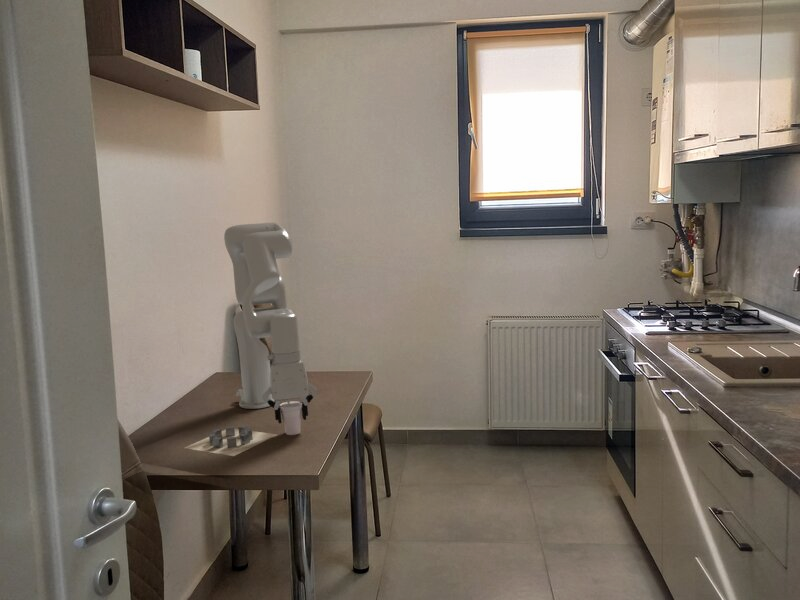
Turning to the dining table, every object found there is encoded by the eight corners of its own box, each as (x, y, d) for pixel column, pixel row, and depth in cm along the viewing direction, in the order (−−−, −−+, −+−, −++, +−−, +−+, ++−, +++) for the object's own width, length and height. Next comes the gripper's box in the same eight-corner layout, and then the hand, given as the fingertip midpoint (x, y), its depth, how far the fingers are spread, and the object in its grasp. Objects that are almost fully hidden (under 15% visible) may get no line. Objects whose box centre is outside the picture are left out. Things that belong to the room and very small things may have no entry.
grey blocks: (201, 445, 203) (200, 436, 203) (230, 432, 213) (229, 424, 212) (232, 450, 197) (231, 441, 197) (261, 436, 207) (260, 428, 207)
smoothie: (282, 434, 212) (278, 387, 210) (305, 433, 213) (301, 385, 211) (281, 442, 206) (276, 393, 204) (304, 440, 207) (300, 391, 205)
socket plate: (183, 453, 202) (183, 448, 202) (229, 432, 217) (229, 427, 217) (234, 461, 193) (233, 456, 193) (278, 439, 208) (277, 434, 208)
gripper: (256, 364, 200) (262, 428, 203) (319, 356, 205) (324, 419, 207) (253, 358, 208) (259, 421, 210) (315, 351, 212) (320, 412, 215)
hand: (292, 419), depth 209 cm, fingers closed on smoothie, 6 cm apart
